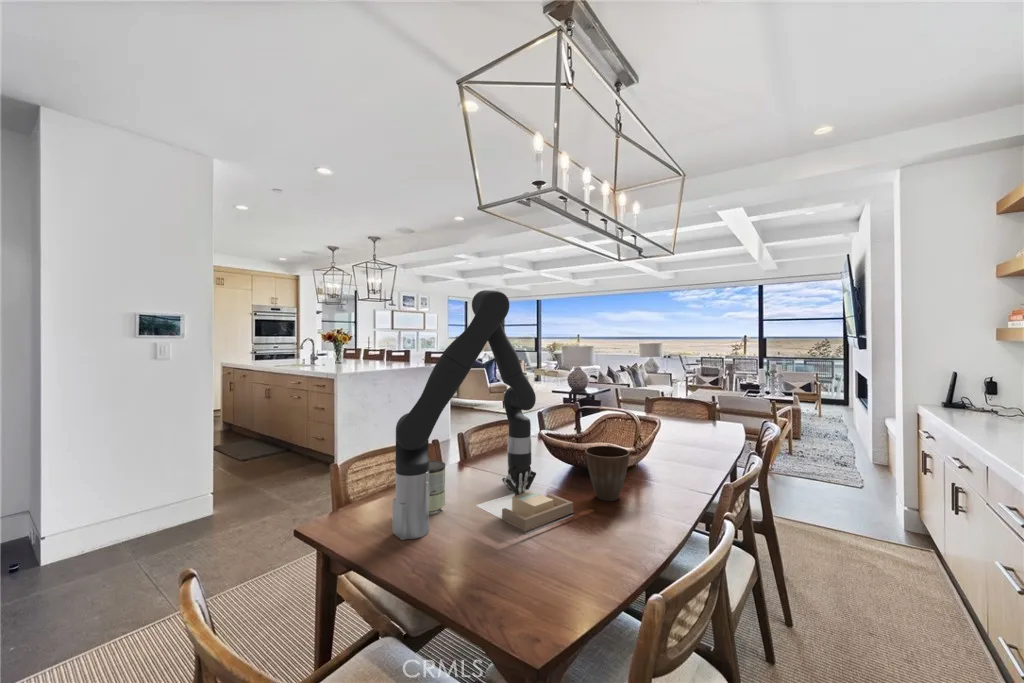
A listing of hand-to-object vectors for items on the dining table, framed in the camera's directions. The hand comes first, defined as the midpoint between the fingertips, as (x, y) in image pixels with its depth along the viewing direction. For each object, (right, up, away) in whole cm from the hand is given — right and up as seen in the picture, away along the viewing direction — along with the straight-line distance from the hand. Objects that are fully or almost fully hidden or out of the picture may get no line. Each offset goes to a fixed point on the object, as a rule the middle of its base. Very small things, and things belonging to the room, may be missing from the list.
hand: (519, 504), depth 132 cm
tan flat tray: (+1, -2, -1) cm, 3 cm away
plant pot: (+31, -2, +12) cm, 33 cm away
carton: (+4, -1, -5) cm, 6 cm away
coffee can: (-29, -2, +2) cm, 29 cm away
